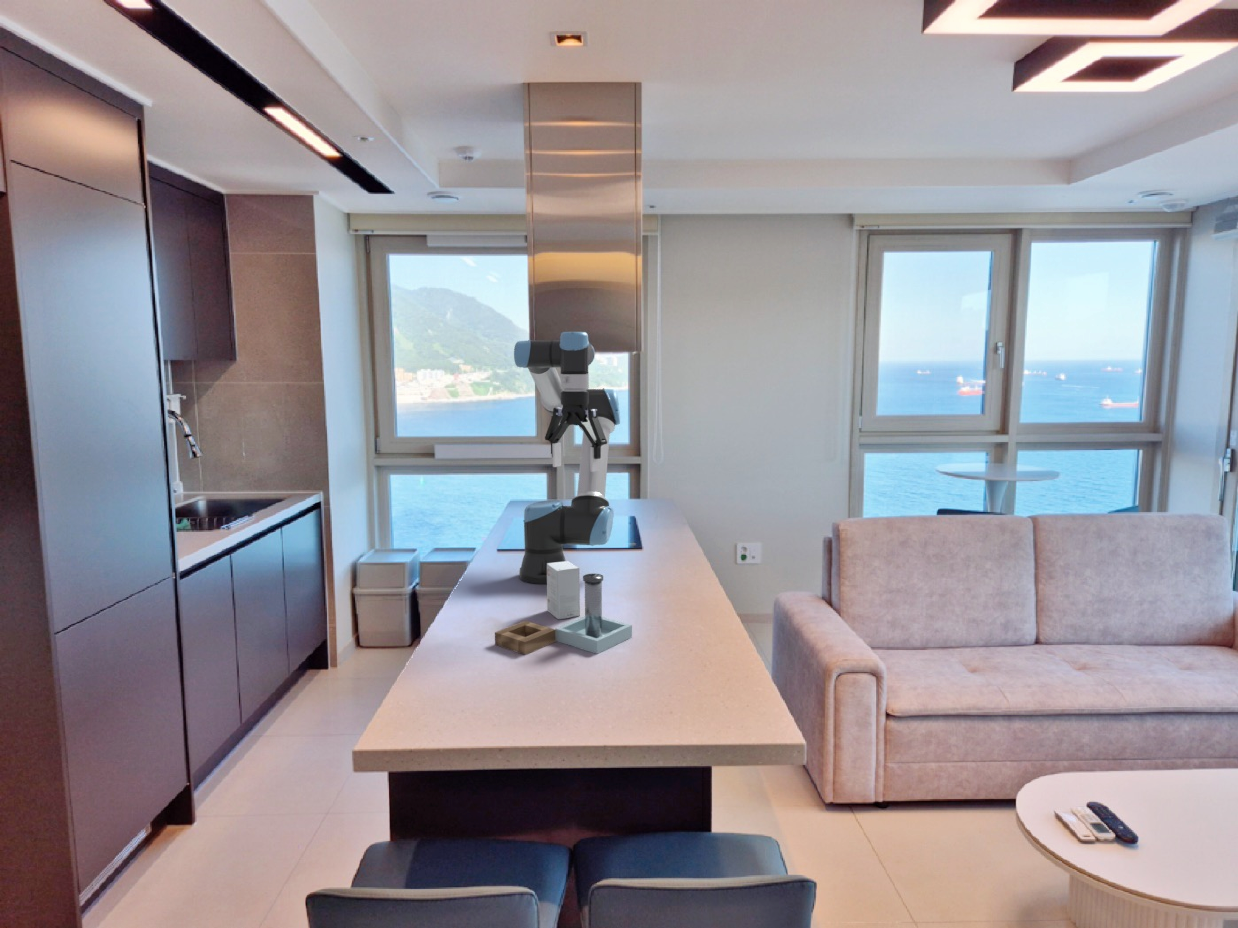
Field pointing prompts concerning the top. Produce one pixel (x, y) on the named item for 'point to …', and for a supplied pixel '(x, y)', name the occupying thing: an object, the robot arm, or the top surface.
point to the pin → (593, 605)
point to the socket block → (525, 637)
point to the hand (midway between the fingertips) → (575, 468)
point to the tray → (576, 637)
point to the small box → (563, 590)
